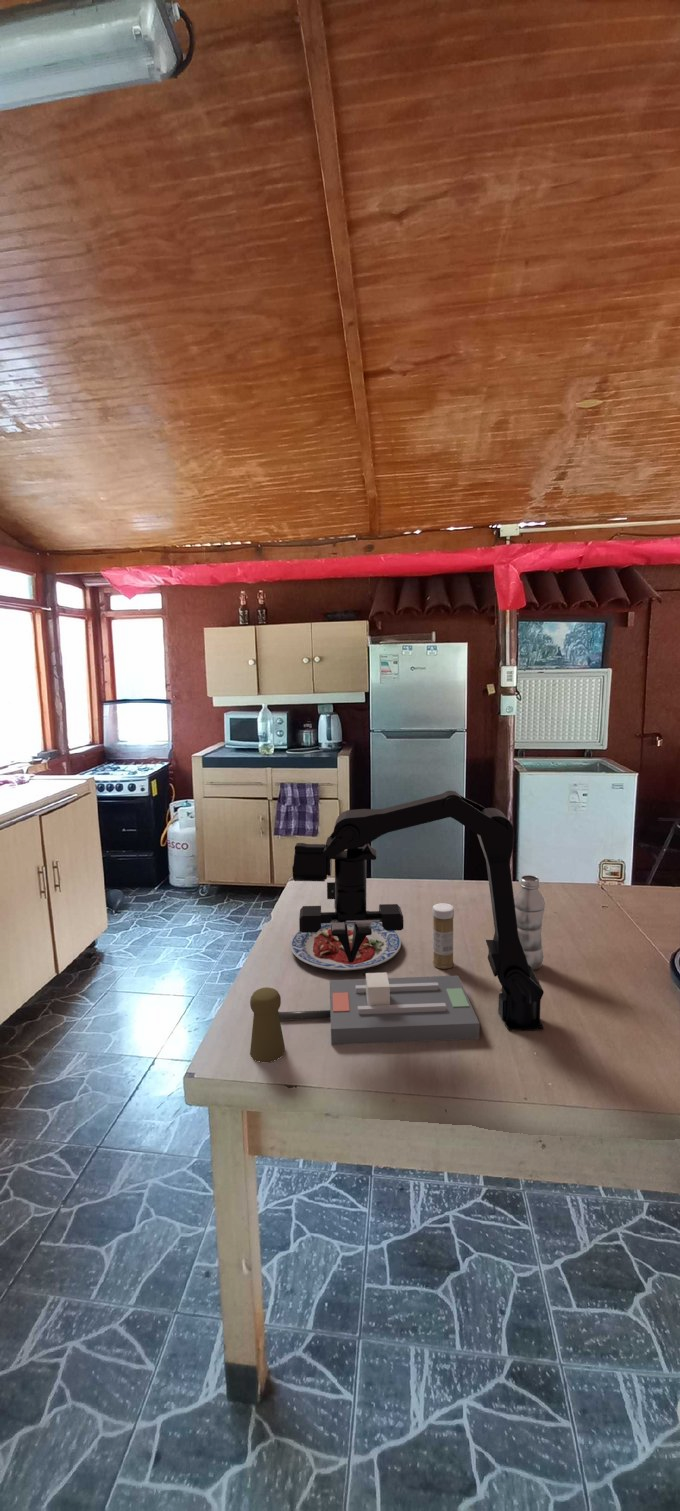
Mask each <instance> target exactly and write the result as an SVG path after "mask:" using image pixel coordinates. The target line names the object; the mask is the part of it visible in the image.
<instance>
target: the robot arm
mask: <svg viewBox="0 0 680 1511" xmlns="http://www.w3.org/2000/svg"><path fill="white" fill-rule="evenodd" d="M448 818H451V819H454V820H455V821H457V822H459V824H461V825H463V826H464V827H466V828H467V829H468V830H470V831H471V832H473V833H475V834H476V835H477V838H478V842H479V844H480V847H481V849H482V852H483V856H484V858H485V862H486V870H487V878H488V885H489V886H488V887H489V894H490V902H491V904H490V905H491V910H492V917H493V926H494V935H493V938H492V939H485V942H486V946H487V948H488V955H487V960H488V963H489V966H490V969H491V971H492V974H493V976H494V977H495V978H496V977H497V979H498V982H499V983H500V985H501V992H499V993H498V1009H497V1012H498V1015H499V1017H500V1019H501V1020H502V1022H503V1023H504V1025H505V1027H506V1029H507V1030H508V1031H529V1030H531V1031H533V1030H544V1024H543V1022H542V1021H541V1003H542V1002H541V1001H542V998H543V996H544V993H545V992H544V989H543V987H542V986H541V984H540V981H539V979H538V977H537V975H536V974H535V972H534V971H535V970H533V969H532V967H531V966H530V965H529V964H528V962H527V959H526V956H525V954H524V951H523V948H522V945H521V942H520V940H519V936H518V928H517V920H516V911H515V903H514V899H515V895H514V888H513V887H514V886H513V880H512V873H511V872H512V870H511V859H512V856H513V851H514V843H515V842H514V841H515V829H514V825H513V823H512V822H511V821H510V820H509V818H508V817H507V816H506V815H505V813H504V812H503V811H501V810H500V809H498V808H495V807H487V808H486V807H485V806H483V805H481V804H478V803H477V802H475V801H473V800H471V799H469V798H466V797H464V796H462V795H460V794H459V793H458V792H456V791H455V790H447V791H445V792H442V793H440V794H436V795H432V796H428V797H425V798H420V799H417V800H412V801H409V802H405V803H400V804H396V805H393V806H389V807H385V808H377V809H376V808H375V809H373V808H360V809H359V808H357V809H348V810H345V811H342V812H341V813H340V814H338V816H337V818H336V820H335V822H334V823H335V824H334V827H333V832H332V833H331V834H330V835H329V836H327V839H326V841H325V843H324V844H322V843H318V844H317V843H305V842H297V843H295V846H294V855H293V864H292V866H291V867H292V868H291V869H292V880H293V881H294V882H323V883H325V881H326V880H328V877H331V876H332V870H333V869H332V868H333V867H332V866H333V863H332V861H333V860H334V881H333V882H332V881H331V882H330V881H329V882H326V898H327V900H334V910H335V911H334V912H333V911H332V912H331V911H329V912H328V911H327V912H325V911H324V912H322V906H321V905H303V906H301V908H300V909H299V920H298V924H299V926H298V927H299V930H298V931H300V932H302V933H312V932H318V931H319V930H320V929H321V923H330V924H331V935H332V936H337V937H338V939H339V941H340V942H341V944H342V946H343V948H344V950H345V953H346V956H347V958H348V961H349V963H350V962H354V960H355V957H356V955H357V952H358V950H359V948H360V946H361V944H362V942H363V940H364V939H365V937H366V936H367V935H371V934H372V930H371V925H372V922H380V923H382V927H383V928H384V929H385V930H386V931H396V932H397V931H402V930H404V923H405V922H404V914H403V911H402V908H401V906H399V904H397V903H387V904H384V903H383V904H379V906H378V910H375V911H374V910H373V911H370V910H367V861H375V860H377V850H375V849H374V848H373V847H372V846H371V845H370V843H372V842H374V841H375V840H376V839H378V838H380V837H381V836H384V835H386V834H388V833H392V832H397V831H399V830H404V829H408V828H412V827H415V826H420V825H423V824H428V823H431V822H435V821H440V820H444V819H448ZM347 923H354V929H353V939H352V947H351V949H350V943H349V936H348V929H347Z"/></svg>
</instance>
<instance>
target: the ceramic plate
mask: <svg viewBox="0 0 680 1511" xmlns="http://www.w3.org/2000/svg"><path fill="white" fill-rule="evenodd" d="M347 929H348V936H349V943H350V949H351V947H352V939H353V929H354V923H347ZM371 930H372V934H371V935H367V936H369V937H365V939H364V940H363V942H362V944H361V946H360V948H359V950H358V952H357V955H356V957H355V960H354V962H350V963H349V961H348V958H347V956H346V953H345V950H344V948H343V946H342V944H341V942H340V941H339V939H338V937H337V936H332V935H331V924H330V923H321V929H320V930H319V931H318V932H312V933H302V932H300V931H299V930H297V931H296V932H295V933H294V935H292V937H291V939H290V946H289V947H290V950H291V952H292V953H293V955H294V956H295V957H296V958H297V959H298V960H299V961H301V962H303V963H305V964H308V965H310V966H312V967H314V968H315V967H316V968H320V969H324V970H330V971H356V970H357V971H358V970H363V969H369V968H373V967H376V966H379V965H381V964H382V965H383V963H386V962H388V961H390V960H391V959H392V958H394V957H395V956H396V955H397V954H398V953H399V951H400V949H401V947H402V939H401V937H400V935H399V933H397V931H386V930H385V929H384V928H383V927H382V922H372V925H371ZM370 937H372V938H370Z"/></svg>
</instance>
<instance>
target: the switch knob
mask: <svg viewBox="0 0 680 1511" xmlns="http://www.w3.org/2000/svg"><path fill="white" fill-rule="evenodd" d="M388 978H389V977H388V972H366V973H365V979H366V996H367V1003H368V1006H375V1005H390V986H389V981H388Z"/></svg>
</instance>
